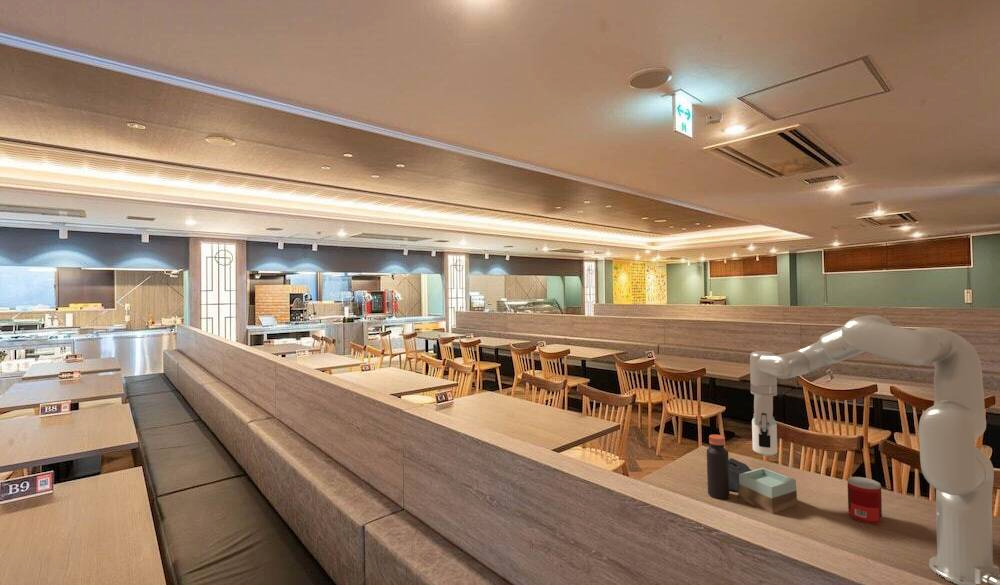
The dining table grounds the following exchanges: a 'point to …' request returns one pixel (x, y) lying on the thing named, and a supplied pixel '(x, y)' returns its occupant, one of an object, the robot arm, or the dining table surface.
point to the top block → (767, 482)
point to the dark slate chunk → (736, 473)
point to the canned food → (864, 500)
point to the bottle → (718, 468)
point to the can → (773, 439)
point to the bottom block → (767, 500)
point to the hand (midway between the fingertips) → (764, 442)
